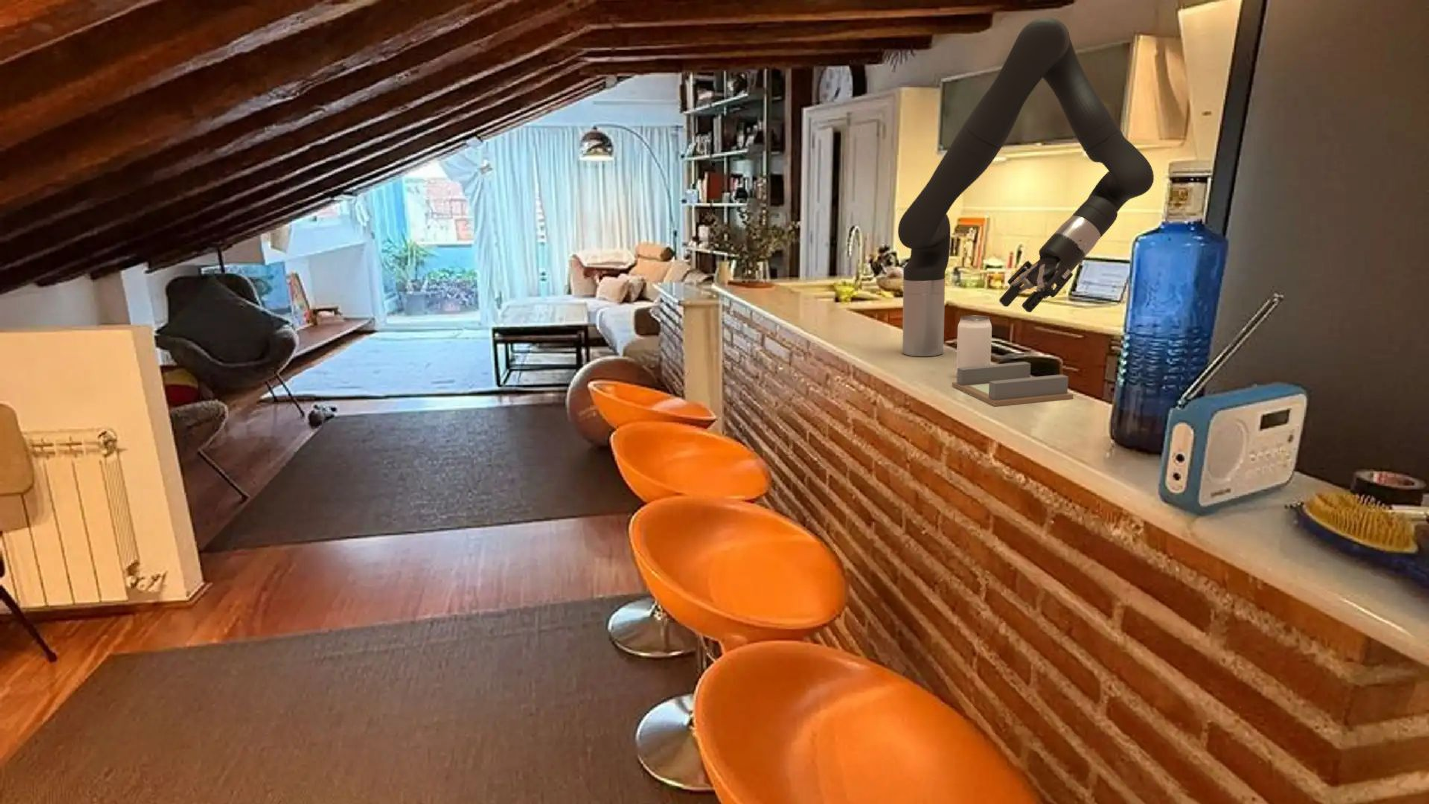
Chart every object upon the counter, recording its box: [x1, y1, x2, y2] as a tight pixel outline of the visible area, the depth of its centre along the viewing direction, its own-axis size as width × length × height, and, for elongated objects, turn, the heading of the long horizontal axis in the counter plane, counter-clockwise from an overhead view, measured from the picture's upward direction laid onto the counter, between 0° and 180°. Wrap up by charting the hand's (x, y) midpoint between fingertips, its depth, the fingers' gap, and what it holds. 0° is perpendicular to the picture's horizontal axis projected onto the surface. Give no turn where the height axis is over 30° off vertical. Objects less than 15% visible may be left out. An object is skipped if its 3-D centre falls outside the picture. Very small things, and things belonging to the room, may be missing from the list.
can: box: [956, 315, 993, 369], centre depth 159 cm, size 6×6×12 cm
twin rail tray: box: [951, 361, 1074, 407], centre depth 146 cm, size 16×15×4 cm
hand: (1013, 306), depth 158 cm, fingers open, 8 cm apart
